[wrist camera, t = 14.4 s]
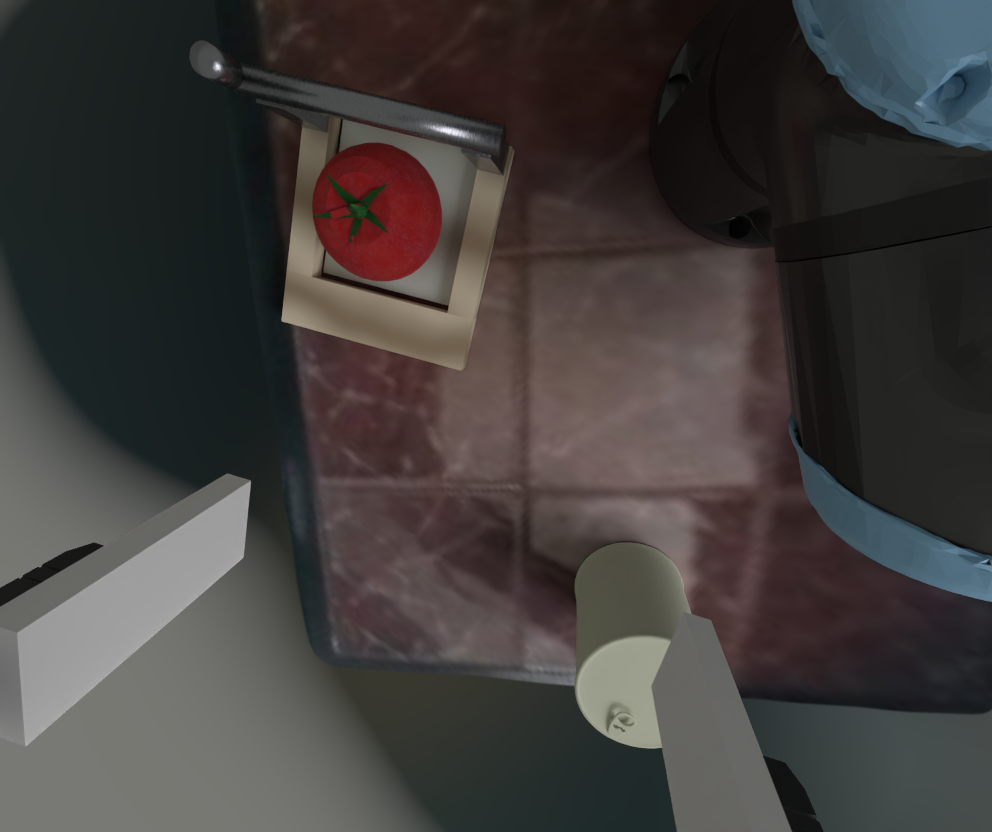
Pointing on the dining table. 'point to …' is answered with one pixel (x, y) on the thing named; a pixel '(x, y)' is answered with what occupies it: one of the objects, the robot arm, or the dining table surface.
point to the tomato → (377, 211)
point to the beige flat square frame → (440, 279)
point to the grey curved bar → (353, 107)
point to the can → (625, 637)
